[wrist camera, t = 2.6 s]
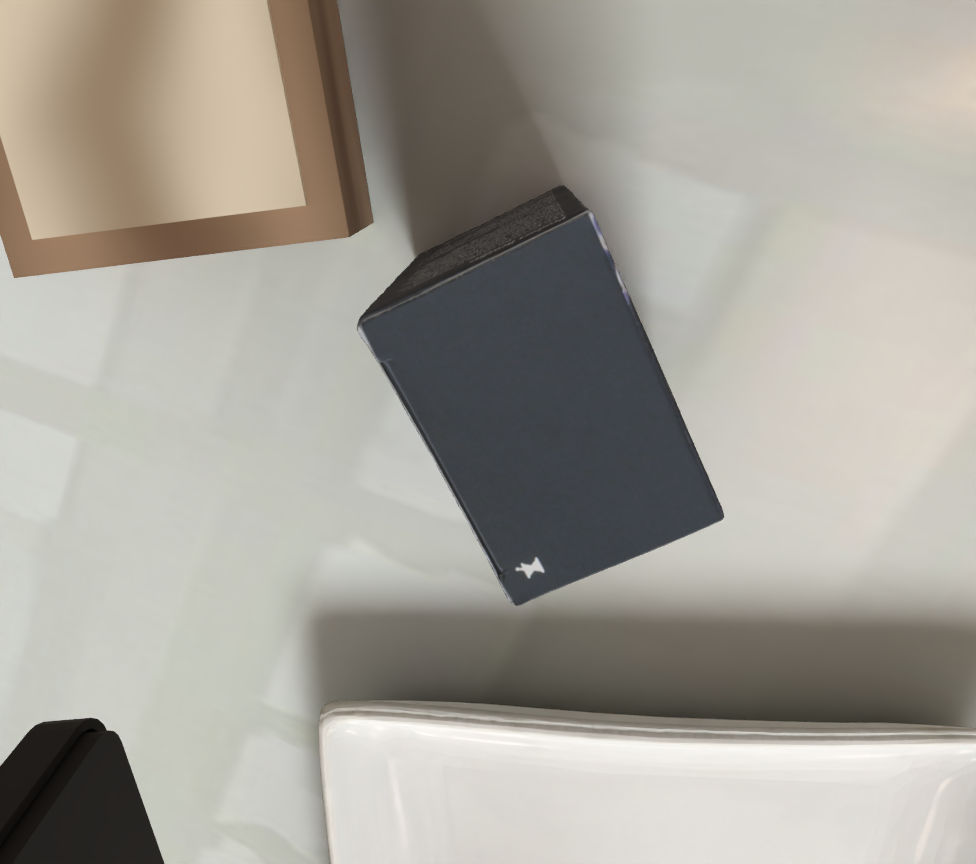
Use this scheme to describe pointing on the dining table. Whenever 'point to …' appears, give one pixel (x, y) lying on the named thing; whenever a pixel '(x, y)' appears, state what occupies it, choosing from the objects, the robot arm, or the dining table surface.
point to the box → (541, 397)
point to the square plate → (638, 788)
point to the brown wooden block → (173, 130)
